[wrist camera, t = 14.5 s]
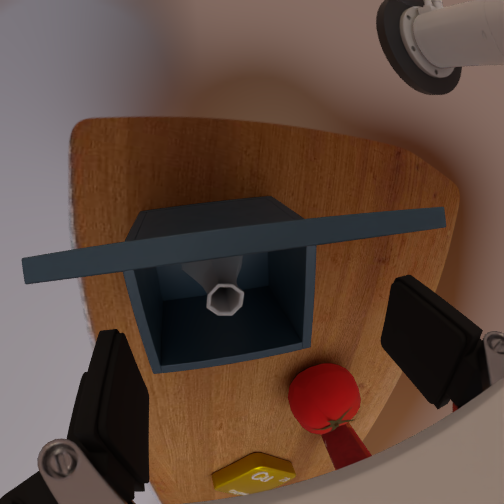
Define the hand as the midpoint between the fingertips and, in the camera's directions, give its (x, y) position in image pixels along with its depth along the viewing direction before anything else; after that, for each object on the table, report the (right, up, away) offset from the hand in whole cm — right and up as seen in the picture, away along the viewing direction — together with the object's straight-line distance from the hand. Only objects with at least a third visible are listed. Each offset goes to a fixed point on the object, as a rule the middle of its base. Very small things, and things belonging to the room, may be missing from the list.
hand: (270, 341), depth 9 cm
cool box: (-5, +3, +25) cm, 26 cm away
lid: (-1, +3, +5) cm, 6 cm away
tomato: (+9, -18, +38) cm, 43 cm away
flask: (-5, +3, +24) cm, 25 cm away
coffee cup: (+16, -33, +45) cm, 58 cm away
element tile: (-1, -48, +47) cm, 68 cm away
